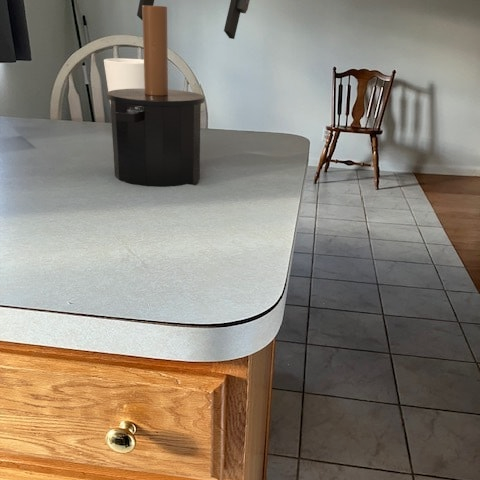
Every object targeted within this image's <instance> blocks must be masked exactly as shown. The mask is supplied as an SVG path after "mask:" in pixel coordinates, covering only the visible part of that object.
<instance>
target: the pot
mask: <svg viewBox="0 0 480 480" xmlns="http://www.w3.org/2000/svg"><path fill="white" fill-rule="evenodd" d="M110 103H111V106H110V119H111V134H112V151H113V166H114V167H113V168H114V177H115V178H116V179H117V180H118V181H120V182H123V183H125V184H129V185H134V186H141V187H150V188H151V187H153V188H154V187H156V188H169V187H180V186H185V185H189V186H190V185H191V186H197V185H198V184H199V182H200V180H201V179H200V177H201V176H200V173H201V172H200V169H201V168H200V167H201V117H202V115H201V109H202V108H201V106H202V103H201V104H198V105H190V106H145V105H133V104H125V103H119V102H115V101H112V100H109V104H110Z"/></svg>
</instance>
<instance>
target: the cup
mask: <svg viewBox="0 0 480 480" xmlns="http://www.w3.org/2000/svg"><path fill="white" fill-rule="evenodd" d="M103 64H104V73H105V79H106V85H107V92H109V91H112V90H119V89H141V88H142V89H145V83H144V58H142V59H141V58H123V57H122V58H121V57H119V58H118V57H117V58H116V57H115V58H113V57H112V58H104V59H103ZM109 106H110V107H111V103H110V102H109Z"/></svg>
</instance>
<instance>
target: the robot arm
mask: <svg viewBox="0 0 480 480" xmlns="http://www.w3.org/2000/svg"><path fill="white" fill-rule="evenodd" d="M142 5H149V6H154V5H155V0H139V3H138V9H137V12H136V16H137V17H138V18H139V19H140V20H141V21H142V22H143V18H142ZM249 5H250V0H230V2H229V7H228V11H227V16H226V20H225V23H224V28H223V32H224V33H225V35H226V36H227V38H228V39H232V40H235V39H236V38H235V37H236V33H237V29H238V25H239V21H240V16H241V14H246V13H247V11H248V9H249Z"/></svg>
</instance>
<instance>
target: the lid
mask: <svg viewBox="0 0 480 480" xmlns="http://www.w3.org/2000/svg"><path fill="white" fill-rule="evenodd" d="M142 18H143V21H142V45H143V47H142V48H143V50H142V51H143V59H144V83H145V89H142V88H141V89H119V90H112V91H109V92H108V91H107V93H106V98H107V100H109V101H110V100H112V101H115V102H119V103H125V104H133V105H145V106H190V105H198V104H201V105H202V104H204V103H205V101H206V97H205V95H203V94H201V93H198V92H192V91H187V90H179V89H169V66H168V65H169V60H168V54H169V53H168V52H169V51H168V48H169V47H168V7H167V6H164V5H153V6H149V5H142Z"/></svg>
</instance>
